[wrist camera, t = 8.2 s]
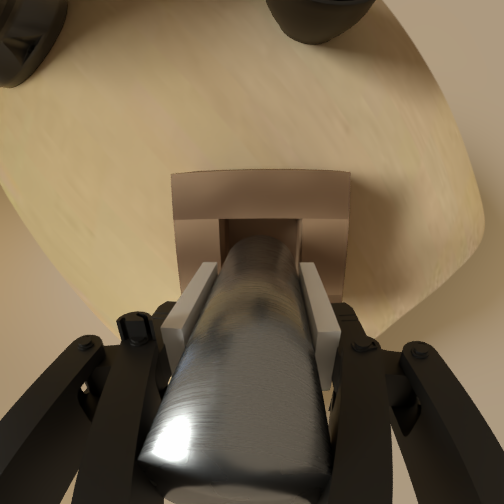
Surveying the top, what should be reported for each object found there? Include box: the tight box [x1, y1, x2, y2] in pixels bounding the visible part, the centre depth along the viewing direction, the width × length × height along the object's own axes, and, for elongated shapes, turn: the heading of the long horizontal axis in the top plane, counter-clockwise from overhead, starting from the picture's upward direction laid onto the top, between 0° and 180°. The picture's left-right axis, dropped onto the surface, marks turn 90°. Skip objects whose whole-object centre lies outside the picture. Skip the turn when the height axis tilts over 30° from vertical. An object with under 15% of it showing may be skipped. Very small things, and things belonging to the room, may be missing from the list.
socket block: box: [171, 169, 351, 303], centre depth 22 cm, size 12×12×6 cm
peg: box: [137, 235, 332, 504], centre depth 11 cm, size 4×4×14 cm
